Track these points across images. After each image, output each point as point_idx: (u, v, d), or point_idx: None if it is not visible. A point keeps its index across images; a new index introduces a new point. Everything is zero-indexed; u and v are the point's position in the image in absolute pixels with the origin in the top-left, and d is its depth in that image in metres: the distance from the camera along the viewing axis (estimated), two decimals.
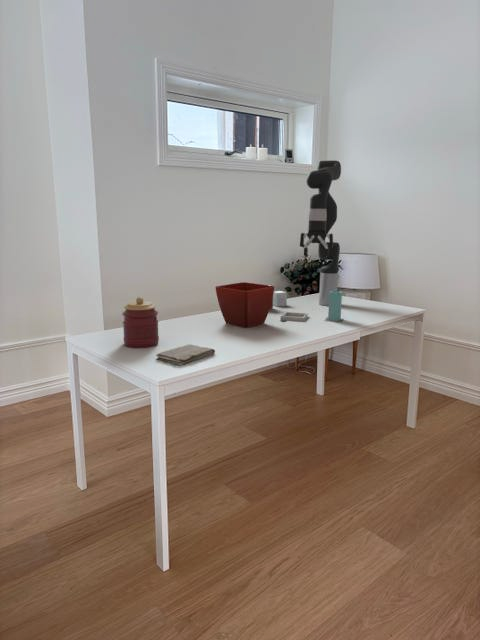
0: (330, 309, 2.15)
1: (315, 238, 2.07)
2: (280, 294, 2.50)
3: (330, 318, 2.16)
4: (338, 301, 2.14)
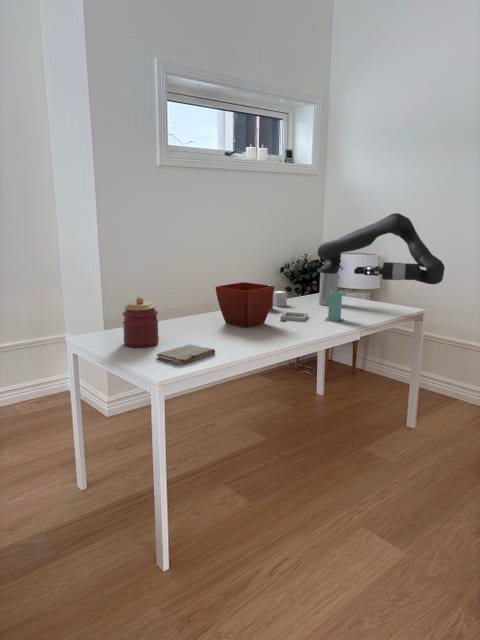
0: (330, 309, 2.15)
1: None
2: (280, 294, 2.50)
3: (330, 318, 2.16)
4: (338, 301, 2.14)
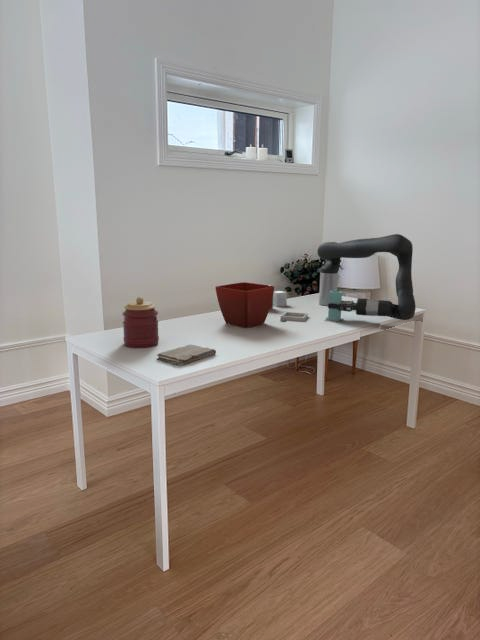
0: (330, 309, 2.15)
1: None
2: (280, 294, 2.50)
3: (330, 318, 2.16)
4: (338, 301, 2.14)
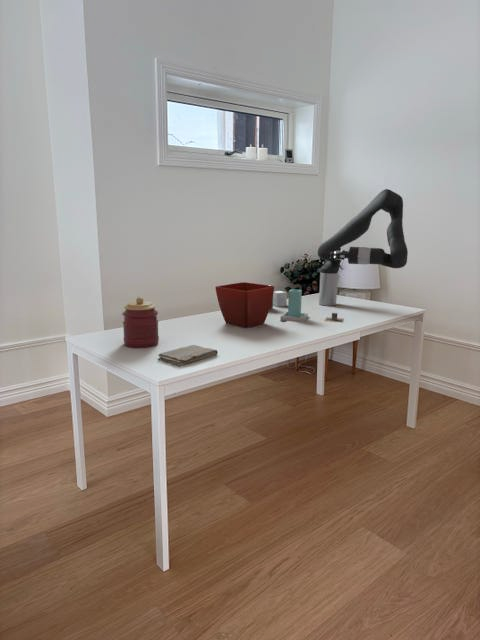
0: (290, 307, 2.18)
1: None
2: (280, 294, 2.50)
3: (290, 316, 2.19)
4: (297, 300, 2.16)
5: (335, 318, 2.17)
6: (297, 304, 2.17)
